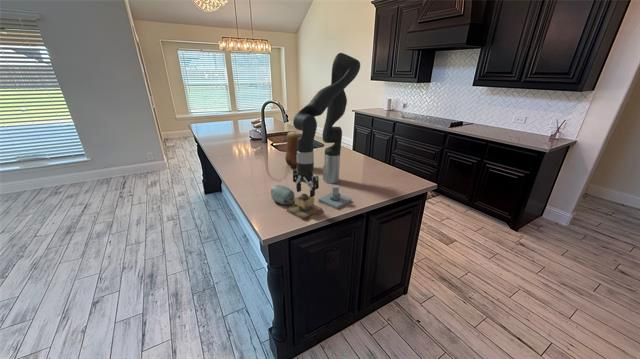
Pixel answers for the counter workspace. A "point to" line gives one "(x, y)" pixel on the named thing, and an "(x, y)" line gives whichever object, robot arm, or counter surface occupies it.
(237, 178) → the counter surface
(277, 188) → the teal-grey streaked oval part
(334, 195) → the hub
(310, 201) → the square wooden frame
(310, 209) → the stand
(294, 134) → the butternut squash
